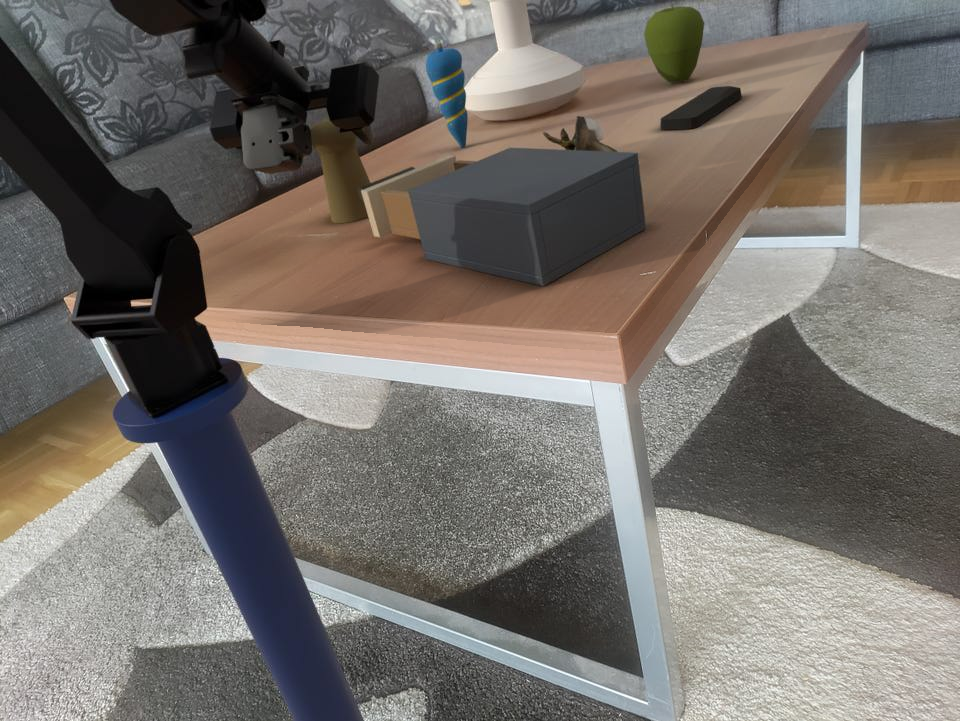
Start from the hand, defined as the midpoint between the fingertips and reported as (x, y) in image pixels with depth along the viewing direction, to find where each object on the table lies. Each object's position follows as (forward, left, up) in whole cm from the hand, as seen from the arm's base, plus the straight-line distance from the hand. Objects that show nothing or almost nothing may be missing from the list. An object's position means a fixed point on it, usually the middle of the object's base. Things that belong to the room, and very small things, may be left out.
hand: (335, 147), depth 85 cm
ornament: (+25, +10, -8) cm, 28 cm away
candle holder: (+44, +16, -8) cm, 48 cm away
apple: (+60, -2, -8) cm, 61 cm away
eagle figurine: (+19, -20, -8) cm, 29 cm away
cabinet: (0, -30, -8) cm, 31 cm away
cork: (0, 0, -8) cm, 8 cm away
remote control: (+43, -18, -8) cm, 47 cm away
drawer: (0, -18, -7) cm, 19 cm away
